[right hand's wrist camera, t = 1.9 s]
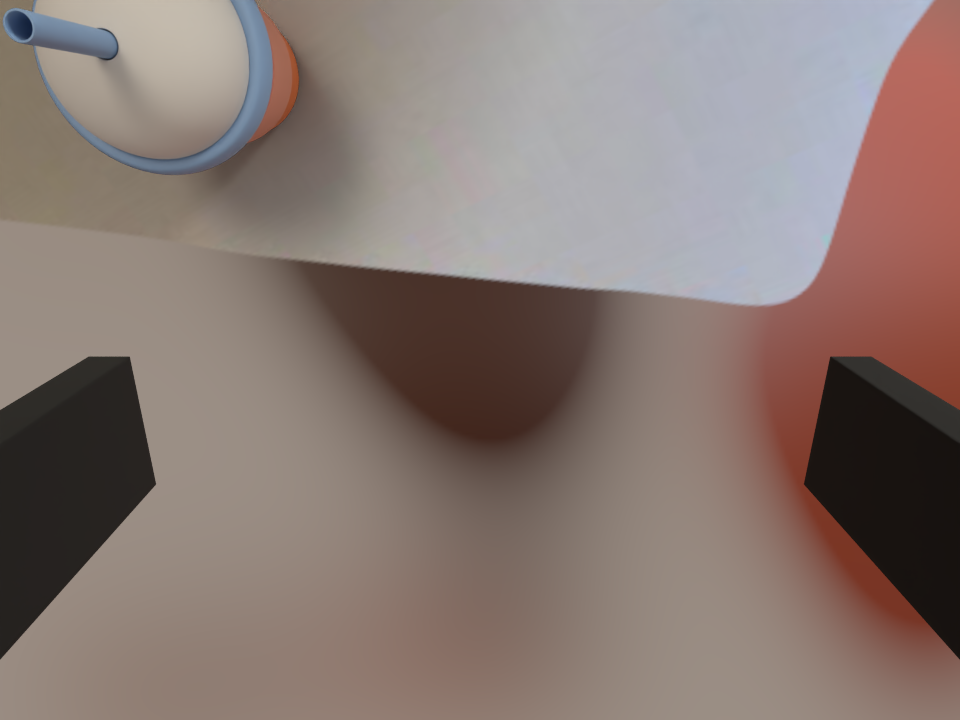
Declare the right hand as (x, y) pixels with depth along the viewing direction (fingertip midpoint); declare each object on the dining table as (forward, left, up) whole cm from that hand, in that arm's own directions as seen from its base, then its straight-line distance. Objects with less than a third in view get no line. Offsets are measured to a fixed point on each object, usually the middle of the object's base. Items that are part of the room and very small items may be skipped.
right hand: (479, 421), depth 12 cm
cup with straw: (-7, -13, -27) cm, 31 cm away
